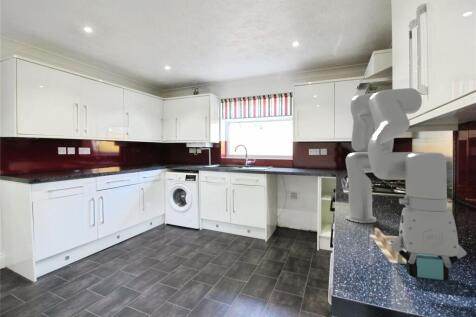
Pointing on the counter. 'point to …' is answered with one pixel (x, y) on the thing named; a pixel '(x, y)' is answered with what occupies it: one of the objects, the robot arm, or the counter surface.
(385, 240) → the channel
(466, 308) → the counter surface
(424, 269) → the block
